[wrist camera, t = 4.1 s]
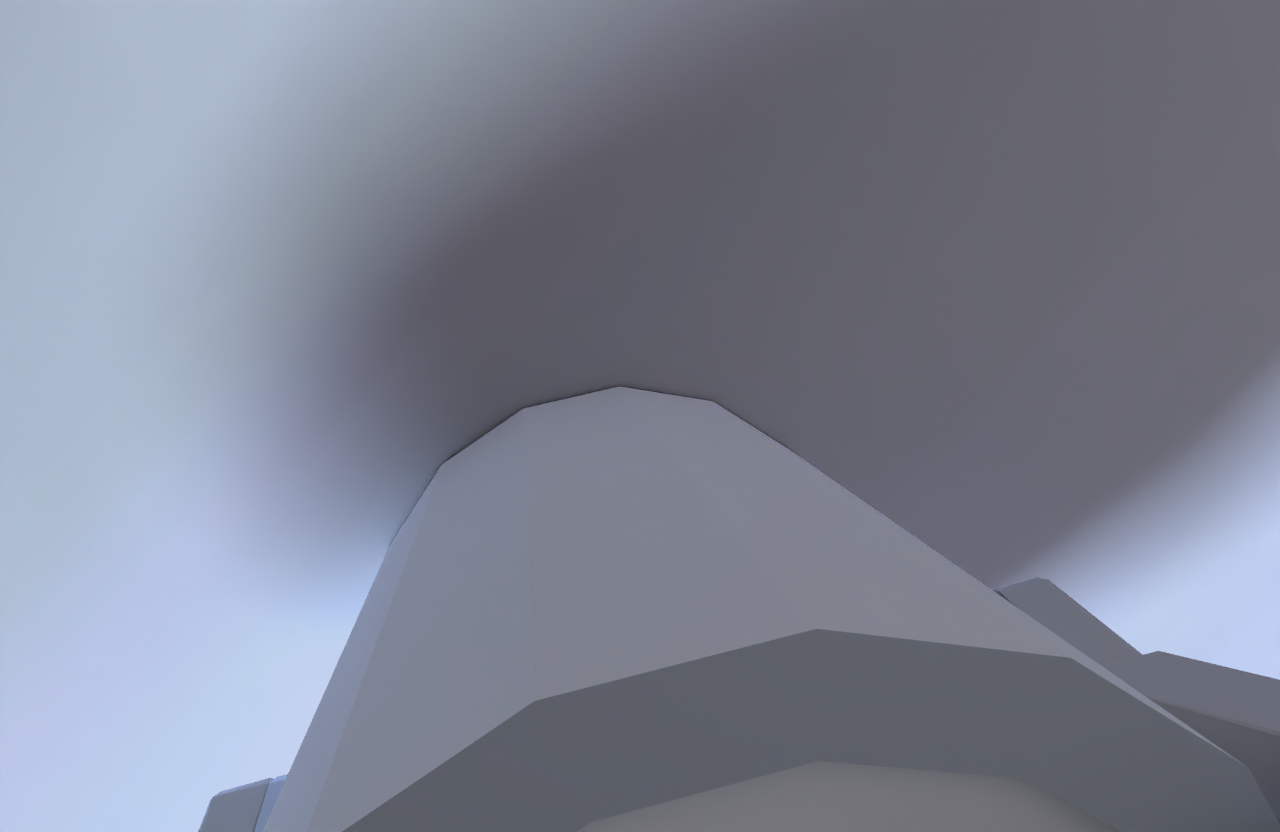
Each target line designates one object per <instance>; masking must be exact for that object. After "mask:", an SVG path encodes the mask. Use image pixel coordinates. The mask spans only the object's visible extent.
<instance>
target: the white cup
mask: <svg viewBox="0 0 1280 832" xmlns="http://www.w3.org/2000/svg"><path fill="white" fill-rule="evenodd" d="M263 832H1280V825H1279V823H1278V821H1277V820H1276V818H1275V816H1274V814H1273V812H1272V810H1271V808H1270V807H1269V805H1268V803H1267V801H1266V799H1265V797H1264V795H1263V793H1262V792H1261V790H1260V788H1259V786H1258V784H1257V782H1256V780H1255V779H1254V777H1253V775H1252V773H1251V771H1250V769H1249V768H1248V767H1247V766H1245V765H1244V764H1242V763H1241V762H1239V761H1238V760H1237V759H1235V758H1234V757H1232V756H1231V755H1229V754H1228V753H1226V752H1225V751H1224V750H1222V749H1221V748H1219V747H1218V746H1216V745H1215V744H1213V743H1212V742H1211V741H1209V740H1208V739H1206V738H1205V737H1203V736H1202V735H1200V734H1199V733H1198V732H1196V731H1195V730H1193V729H1192V728H1190V727H1189V726H1187V725H1186V724H1185V723H1183V722H1182V721H1180V720H1179V719H1177V718H1176V717H1174V716H1173V715H1172V714H1170V713H1169V712H1167V711H1166V710H1164V709H1163V708H1161V707H1160V706H1159V705H1157V704H1156V703H1154V702H1153V701H1151V700H1150V699H1148V698H1147V697H1146V696H1144V695H1143V694H1141V693H1140V692H1138V691H1137V690H1136V689H1134V688H1133V687H1131V686H1130V685H1128V684H1127V683H1125V682H1124V681H1123V680H1121V679H1120V678H1118V677H1117V676H1115V675H1114V674H1112V673H1111V672H1110V671H1108V670H1107V669H1105V668H1104V667H1102V666H1101V665H1099V664H1098V663H1097V662H1095V661H1094V660H1092V659H1091V658H1089V657H1088V656H1086V655H1085V654H1084V653H1082V652H1081V651H1079V650H1078V649H1076V648H1075V647H1073V646H1072V645H1071V644H1069V643H1068V642H1066V641H1065V640H1063V639H1062V638H1060V637H1059V636H1058V635H1056V634H1055V633H1053V632H1052V631H1050V630H1049V629H1047V628H1046V627H1045V626H1043V625H1042V624H1040V623H1039V622H1037V621H1036V620H1034V619H1033V618H1032V617H1030V616H1029V615H1027V614H1026V613H1024V612H1023V611H1021V610H1020V609H1019V608H1017V607H1016V606H1014V605H1013V604H1011V603H1010V602H1008V601H1007V600H1006V599H1004V598H1003V597H1001V596H1000V595H998V594H997V593H995V592H994V591H993V590H991V589H990V588H988V587H987V586H985V585H984V584H982V583H981V582H980V581H978V580H977V579H975V578H974V577H972V576H971V575H970V574H968V573H967V572H965V571H964V570H962V569H961V568H959V567H958V566H957V565H955V564H954V563H952V562H951V561H949V560H948V559H946V558H945V557H944V556H942V555H941V554H939V553H938V552H936V551H935V550H933V549H932V548H931V547H929V546H928V545H926V544H925V543H923V542H922V541H920V540H919V539H918V538H916V537H915V536H913V535H912V534H910V533H909V532H907V531H906V530H905V529H903V528H902V527H900V526H899V525H897V524H896V523H894V522H893V521H892V520H890V519H889V518H887V517H886V516H884V515H883V514H881V513H880V512H879V511H877V510H876V509H874V508H873V507H871V506H870V505H868V504H867V503H866V502H864V501H863V500H861V499H860V498H858V497H857V496H855V495H854V494H853V493H851V492H850V491H848V490H847V489H845V488H844V487H842V486H841V485H840V484H838V483H837V482H835V481H834V480H832V479H831V478H829V477H828V476H827V475H825V474H824V473H822V472H821V471H819V470H818V469H816V468H815V467H814V466H812V465H811V464H809V463H808V462H806V461H805V460H804V459H802V458H801V457H799V456H798V455H796V454H795V453H793V452H792V451H791V450H789V449H788V448H786V447H784V446H783V445H781V444H780V443H778V442H776V441H775V440H773V439H772V438H770V437H769V436H767V435H765V434H764V433H762V432H761V431H759V430H757V429H756V428H754V427H753V426H751V425H750V424H748V423H746V422H745V421H743V420H742V419H740V418H738V417H737V416H735V415H734V414H732V413H731V412H729V411H727V410H726V409H724V408H723V407H721V406H719V405H718V404H716V403H715V402H713V401H707V400H701V399H695V398H689V397H682V396H676V395H670V394H663V393H657V392H651V391H645V390H638V389H632V388H626V387H615V388H610V389H606V390H602V391H597V392H593V393H588V394H584V395H580V396H575V397H571V398H567V399H562V400H558V401H554V402H549V403H545V404H541V405H536V406H532V407H527V408H523V409H521V410H520V411H519V412H517V413H516V414H514V415H513V416H511V417H510V418H508V419H507V420H505V421H504V422H503V423H501V424H500V425H498V426H497V427H495V428H494V429H492V430H491V431H490V432H488V433H487V434H485V435H484V436H482V437H481V438H479V439H478V440H477V441H475V442H474V443H472V444H471V445H469V446H468V447H466V448H465V449H463V450H462V451H461V452H459V453H458V454H456V455H455V456H453V457H452V458H450V459H449V460H448V461H446V462H445V463H443V464H442V465H441V466H440V468H439V470H438V471H437V473H436V474H435V476H434V477H433V479H432V480H431V482H430V483H429V485H428V487H427V488H426V490H425V491H424V493H423V494H422V496H421V497H420V499H419V501H418V502H417V504H416V505H415V507H414V508H413V510H412V511H411V513H410V515H409V516H408V518H407V519H406V521H405V522H404V524H403V525H402V527H401V529H400V530H399V532H398V533H397V535H396V536H395V538H394V539H393V541H392V543H391V544H390V546H389V549H388V551H387V553H386V555H385V558H384V560H383V562H382V564H381V567H380V569H379V571H378V573H377V576H376V578H375V580H374V582H373V585H372V587H371V589H370V591H369V594H368V596H367V598H366V600H365V603H364V605H363V607H362V609H361V612H360V614H359V616H358V618H357V621H356V623H355V625H354V627H353V630H352V632H351V634H350V636H349V639H348V641H347V643H346V645H345V648H344V650H343V652H342V654H341V657H340V659H339V661H338V663H337V666H336V668H335V670H334V672H333V675H332V677H331V679H330V681H329V684H328V686H327V688H326V690H325V693H324V695H323V697H322V699H321V701H320V704H319V706H318V708H317V710H316V713H315V715H314V717H313V719H312V722H311V724H310V726H309V728H308V731H307V733H306V735H305V737H304V740H303V742H302V744H301V746H300V749H299V751H298V753H297V755H296V758H295V760H294V762H293V764H292V767H291V769H290V771H289V773H288V776H287V778H286V780H285V782H284V785H283V787H282V789H281V791H280V794H279V796H278V798H277V800H276V803H275V805H274V807H273V809H272V812H271V814H270V816H269V818H268V821H267V823H266V825H265V827H264V830H263Z"/></svg>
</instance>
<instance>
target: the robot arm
mask: <svg viewBox="0 0 1280 832" xmlns="http://www.w3.org/2000/svg"><path fill="white" fill-rule="evenodd" d="M994 592H995V593H997V594H998V595H1000V596H1001V597H1003V598H1004V599H1006V600H1007V601H1008V602H1010V603H1011V604H1013V605H1014V606H1016V607H1017V608H1019V609H1020V610H1021V611H1023V612H1024V613H1026V614H1027V615H1029V616H1030V617H1032V618H1033V619H1034V620H1036V621H1037V622H1039V623H1040V624H1042V625H1043V626H1045V627H1046V628H1047V629H1049V630H1050V631H1052V632H1053V633H1055V634H1056V635H1058V636H1059V637H1060V638H1062V639H1063V640H1065V641H1066V642H1068V643H1069V644H1071V645H1072V646H1073V647H1075V648H1076V649H1078V650H1079V651H1081V652H1082V653H1084V654H1085V655H1086V656H1088V657H1089V658H1091V659H1092V660H1094V661H1095V662H1097V663H1098V664H1099V665H1101V666H1102V667H1104V668H1105V669H1107V670H1108V671H1110V672H1111V673H1112V674H1114V675H1115V676H1117V677H1118V678H1120V679H1121V680H1123V681H1124V682H1125V683H1127V684H1128V685H1130V686H1131V687H1133V688H1134V689H1136V690H1137V691H1138V692H1140V693H1141V694H1143V695H1144V696H1146V697H1147V698H1148V699H1150V700H1151V701H1153V702H1154V703H1156V704H1157V705H1159V706H1160V707H1161V708H1163V709H1164V710H1166V711H1167V712H1169V713H1170V714H1172V715H1173V716H1174V717H1176V718H1177V719H1179V720H1180V721H1182V722H1183V723H1185V724H1186V725H1187V726H1189V727H1190V728H1192V729H1193V730H1195V731H1196V732H1198V733H1199V734H1200V735H1202V736H1203V737H1205V738H1206V739H1208V740H1209V741H1211V742H1212V743H1213V744H1215V745H1216V746H1218V747H1219V748H1221V749H1222V750H1224V751H1225V752H1226V753H1228V754H1229V755H1231V756H1232V757H1234V758H1235V759H1237V760H1238V761H1239V762H1241V763H1242V764H1244V765H1245V766H1247V767H1248V768H1249V769H1250V771H1251V773H1252V775H1253V777H1254V779H1255V780H1256V782H1257V784H1258V786H1259V788H1260V790H1261V792H1262V793H1263V795H1264V797H1265V799H1266V801H1267V803H1268V805H1269V807H1270V808H1271V810H1272V812H1273V814H1274V816H1275V818H1276V820H1277V821H1278V823H1279V825H1280V680H1278V679H1274V678H1270V677H1266V676H1261V675H1257V674H1253V673H1249V672H1245V671H1240V670H1236V669H1232V668H1228V667H1224V666H1219V665H1215V664H1211V663H1207V662H1203V661H1199V660H1194V659H1190V658H1186V657H1182V656H1178V655H1173V654H1169V653H1165V652H1161V651H1156V652H1153V653H1149V654H1145V655H1142V654H1141V653H1140V652H1139V651H1137V650H1136V649H1135V648H1134V647H1132V646H1131V645H1130V644H1129V643H1127V642H1126V641H1125V640H1124V639H1122V638H1121V637H1120V636H1119V635H1117V634H1116V633H1115V632H1114V631H1112V630H1111V629H1110V628H1108V627H1107V626H1106V625H1105V624H1103V623H1102V622H1101V621H1100V620H1098V619H1097V618H1096V617H1095V616H1093V615H1092V614H1091V613H1090V612H1088V611H1087V610H1086V609H1085V608H1083V607H1082V606H1081V605H1080V604H1078V603H1077V602H1076V601H1075V600H1073V599H1072V598H1071V597H1069V596H1068V595H1067V594H1066V593H1064V592H1063V591H1062V590H1061V589H1059V588H1058V587H1057V586H1056V585H1054V584H1053V583H1052V582H1051V581H1049V580H1047V579H1043V578H1038V577H1037V578H1033V579H1030V580H1027V581H1024V582H1020V583H1017V584H1014V585H1010V586H1007V587H1004V588H1001V589H997V590H994ZM287 776H288V774H287V775H283V776H279V777H276V778H275V779H272V778H268V779H264V780H261V781H257V782H254V783H250V784H246V785H243V786H239V787H236V788H232V789H228V790H225V791H222V792H220V793H218V794H217V795H215V796H214V797H213V798H212V799H211V801H210V803H209V806H208V808H207V811H206V814H205V816H204V819H203V821H202V824H201V826H200V829H199V831H198V832H263V830H264V827H265V825H266V823H267V821H268V818H269V816H270V814H271V812H272V809H273V807H274V805H275V803H276V800H277V798H278V796H279V794H280V791H281V789H282V787H283V785H284V782H285V780H286V778H287Z"/></svg>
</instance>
